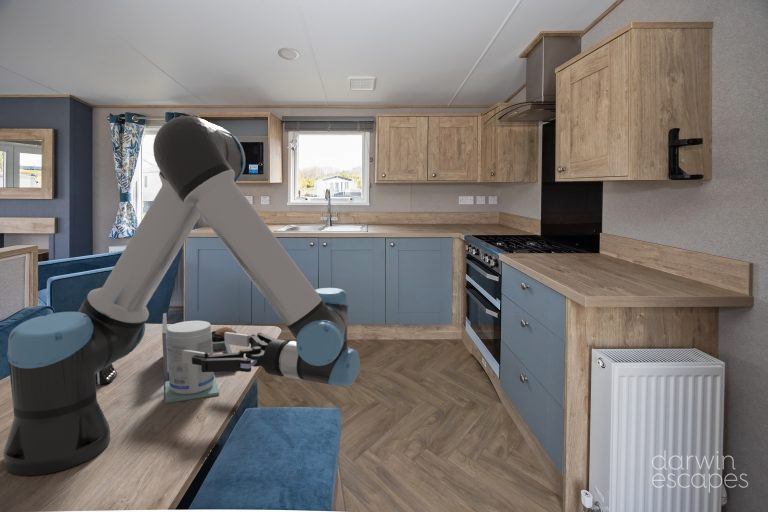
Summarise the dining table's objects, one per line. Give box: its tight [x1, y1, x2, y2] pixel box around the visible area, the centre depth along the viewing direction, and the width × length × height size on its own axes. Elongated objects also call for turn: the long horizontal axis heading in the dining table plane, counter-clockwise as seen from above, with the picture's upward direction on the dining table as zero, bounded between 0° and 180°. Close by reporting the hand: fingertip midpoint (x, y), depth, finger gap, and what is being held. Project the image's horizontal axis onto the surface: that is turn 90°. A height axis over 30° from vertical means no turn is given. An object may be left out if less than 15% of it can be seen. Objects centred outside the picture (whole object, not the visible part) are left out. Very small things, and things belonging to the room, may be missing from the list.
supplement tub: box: [167, 320, 215, 394], centre depth 104 cm, size 10×10×15 cm
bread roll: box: [212, 326, 237, 343], centre depth 144 cm, size 11×8×4 cm
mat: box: [164, 374, 220, 404], centre depth 106 cm, size 11×11×1 cm
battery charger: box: [95, 363, 118, 386], centre depth 109 cm, size 7×4×11 cm, turn 13°
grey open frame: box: [161, 312, 236, 382], centre depth 122 cm, size 17×20×12 cm
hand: (205, 346), depth 103 cm, fingers open, 13 cm apart
